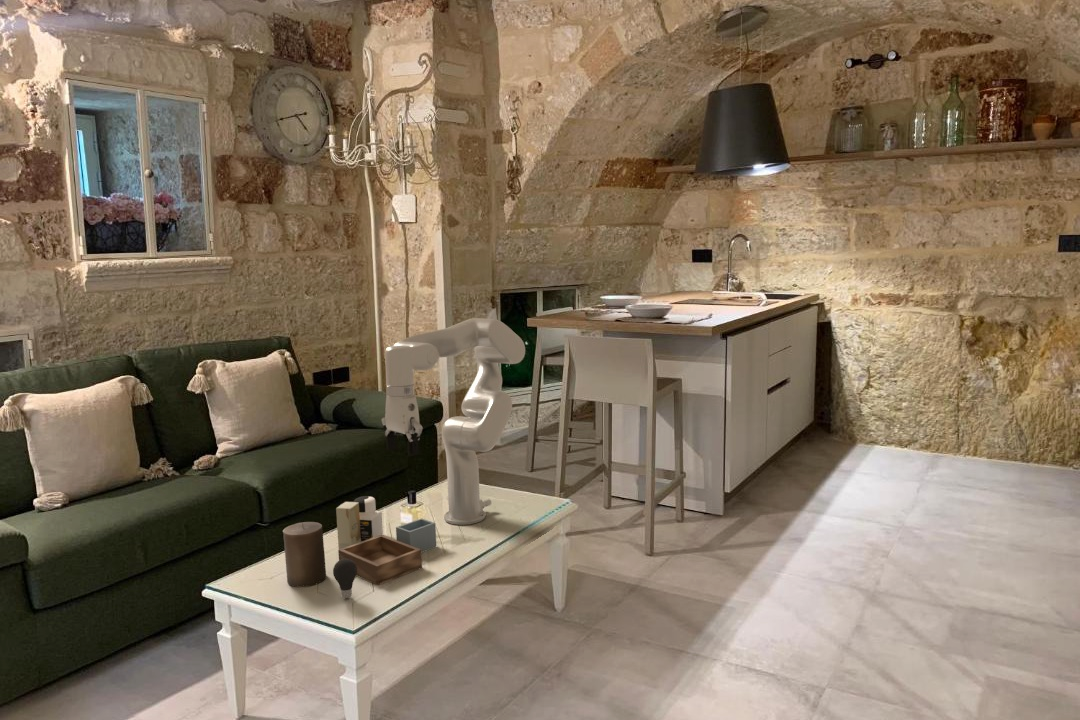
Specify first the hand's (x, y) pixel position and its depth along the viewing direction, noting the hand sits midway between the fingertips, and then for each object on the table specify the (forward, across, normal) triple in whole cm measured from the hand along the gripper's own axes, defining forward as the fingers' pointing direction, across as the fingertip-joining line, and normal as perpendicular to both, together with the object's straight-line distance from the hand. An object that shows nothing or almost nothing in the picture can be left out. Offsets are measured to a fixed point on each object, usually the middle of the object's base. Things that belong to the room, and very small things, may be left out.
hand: (402, 452), depth 229 cm
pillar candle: (+28, +2, +30) cm, 41 cm away
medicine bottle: (+27, +14, +3) cm, 31 cm away
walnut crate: (+28, -7, +13) cm, 31 cm away
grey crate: (+27, -4, -1) cm, 27 cm away
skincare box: (+28, +12, +10) cm, 32 cm away
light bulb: (+28, -16, +29) cm, 44 cm away
